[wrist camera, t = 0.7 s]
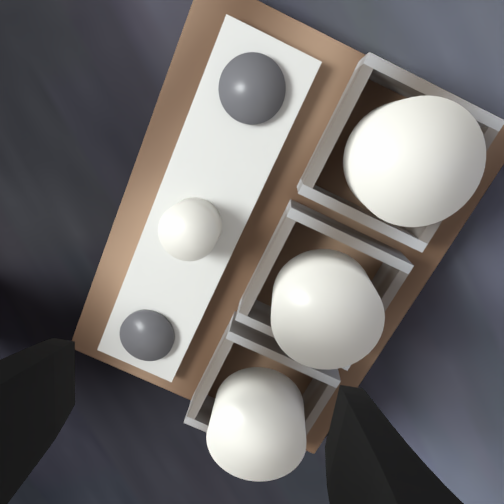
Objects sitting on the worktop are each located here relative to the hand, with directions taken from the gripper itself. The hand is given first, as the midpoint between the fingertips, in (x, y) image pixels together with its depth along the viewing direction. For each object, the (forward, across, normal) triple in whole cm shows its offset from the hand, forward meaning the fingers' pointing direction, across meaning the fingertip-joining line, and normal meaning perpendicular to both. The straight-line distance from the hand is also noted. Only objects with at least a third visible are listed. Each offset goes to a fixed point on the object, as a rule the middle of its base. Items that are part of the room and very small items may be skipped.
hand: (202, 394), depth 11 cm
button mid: (+6, -4, -1) cm, 7 cm away
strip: (+8, +2, -2) cm, 9 cm away
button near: (+6, -5, -7) cm, 10 cm away
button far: (+6, -2, +5) cm, 8 cm away
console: (+10, -1, -2) cm, 10 cm away
